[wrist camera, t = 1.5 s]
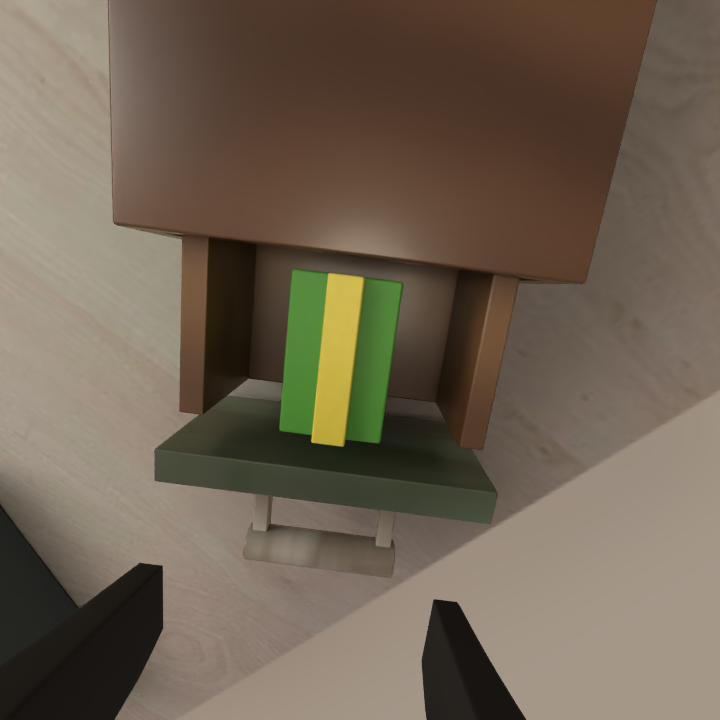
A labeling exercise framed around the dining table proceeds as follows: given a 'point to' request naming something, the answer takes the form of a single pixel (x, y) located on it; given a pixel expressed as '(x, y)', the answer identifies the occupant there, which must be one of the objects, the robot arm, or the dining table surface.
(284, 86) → the cabinet
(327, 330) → the yellow-striped green block
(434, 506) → the drawer
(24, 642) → the dark grey square tile
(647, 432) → the dining table surface
